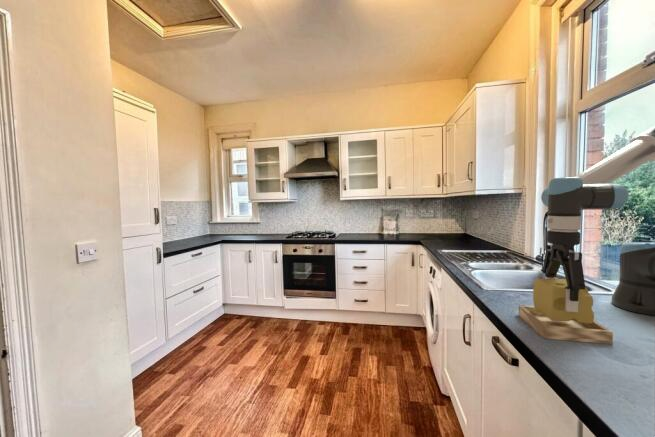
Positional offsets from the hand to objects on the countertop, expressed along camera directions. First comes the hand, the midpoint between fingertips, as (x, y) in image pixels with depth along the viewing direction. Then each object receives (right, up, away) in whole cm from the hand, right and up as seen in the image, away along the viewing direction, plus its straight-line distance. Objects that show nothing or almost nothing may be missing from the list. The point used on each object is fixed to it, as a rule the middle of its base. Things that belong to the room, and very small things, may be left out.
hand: (560, 304), depth 83 cm
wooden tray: (0, -7, 0) cm, 7 cm away
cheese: (0, -4, 0) cm, 4 cm away
